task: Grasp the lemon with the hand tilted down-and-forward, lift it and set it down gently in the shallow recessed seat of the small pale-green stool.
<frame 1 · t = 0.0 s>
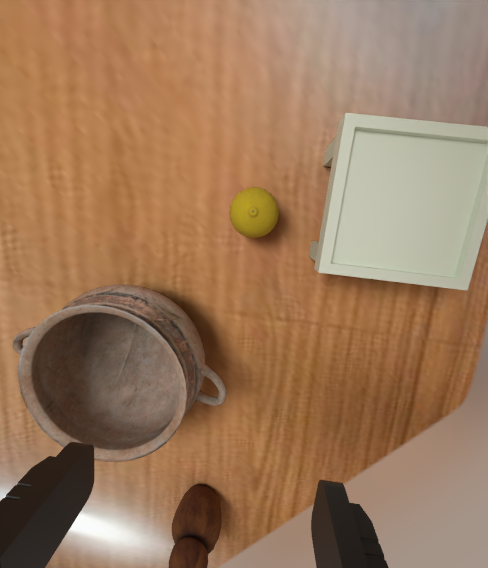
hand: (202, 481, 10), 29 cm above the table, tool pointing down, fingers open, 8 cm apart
stool: (370, 210, 36), on the table
lemon: (255, 214, 37), on the table
cooking pot: (148, 339, 41), on the table
wooden figurine: (203, 493, 46), on the table
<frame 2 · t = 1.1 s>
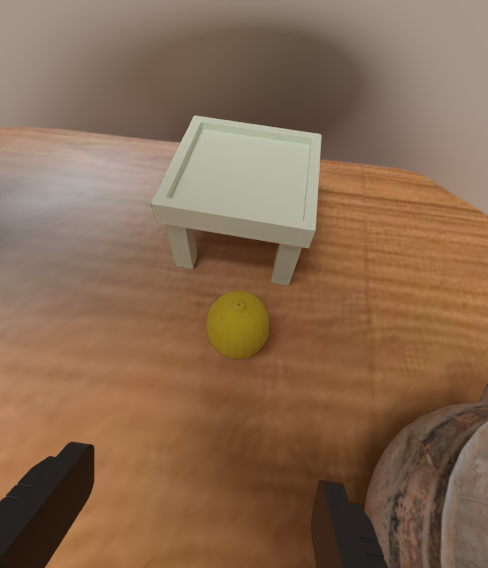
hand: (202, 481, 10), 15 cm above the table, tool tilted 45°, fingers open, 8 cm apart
stool: (241, 233, 36), on the table
lemon: (236, 342, 29), on the table
cooking pot: (457, 556, 21), on the table
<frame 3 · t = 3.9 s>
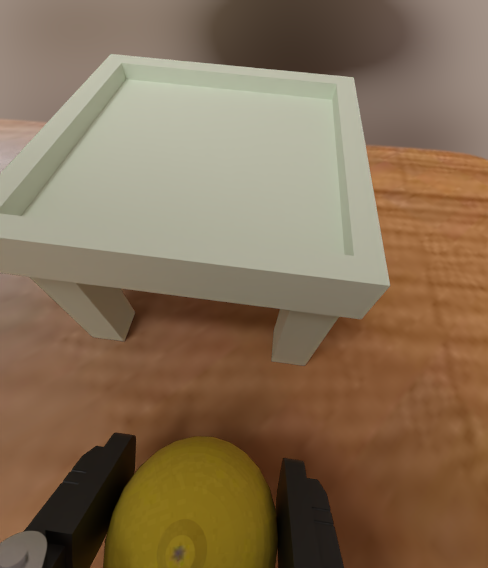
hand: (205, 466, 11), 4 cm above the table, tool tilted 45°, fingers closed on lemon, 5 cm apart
stool: (216, 265, 21), on the table
lemon: (205, 512, 14), on the table, touching gripper
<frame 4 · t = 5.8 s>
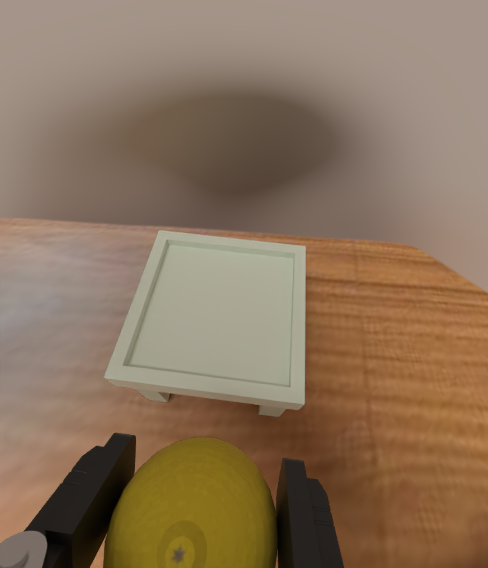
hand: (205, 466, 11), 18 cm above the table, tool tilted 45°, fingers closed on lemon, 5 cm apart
stool: (223, 345, 32), on the table
lemon: (205, 512, 14), point 13 cm above the table, touching gripper
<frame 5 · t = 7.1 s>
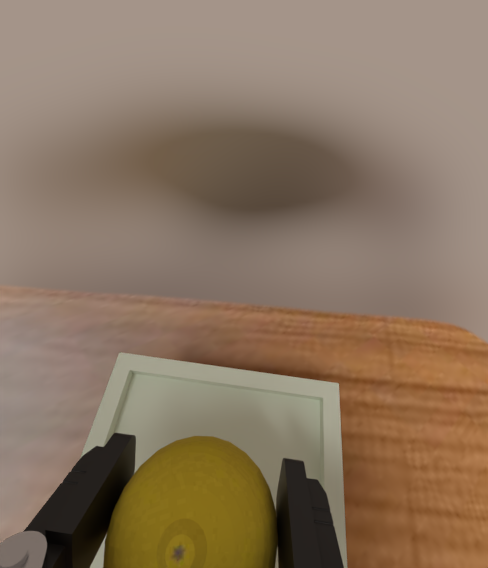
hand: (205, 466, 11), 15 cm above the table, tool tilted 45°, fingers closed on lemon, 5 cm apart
stool: (214, 491, 23), on the table
lemon: (205, 511, 14), point 11 cm above the table, touching gripper
when the fingers open (15 cm above the table, at t = 7.7 s): lemon drops 1 cm, resting on stool.
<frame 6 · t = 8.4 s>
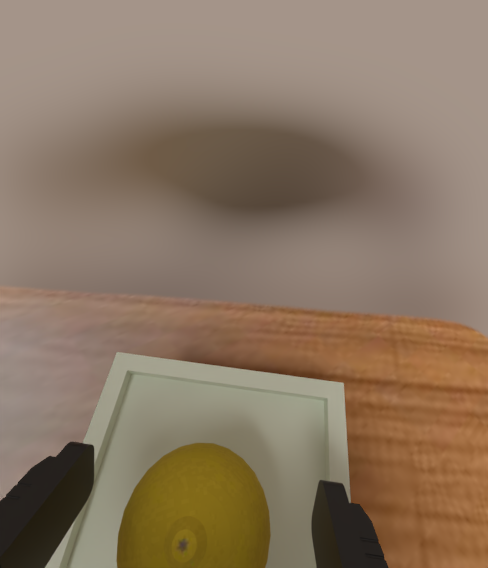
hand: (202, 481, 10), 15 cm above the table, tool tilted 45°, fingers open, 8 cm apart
stool: (215, 495, 22), on the table
lemon: (206, 512, 15), point 9 cm above the table, touching stool
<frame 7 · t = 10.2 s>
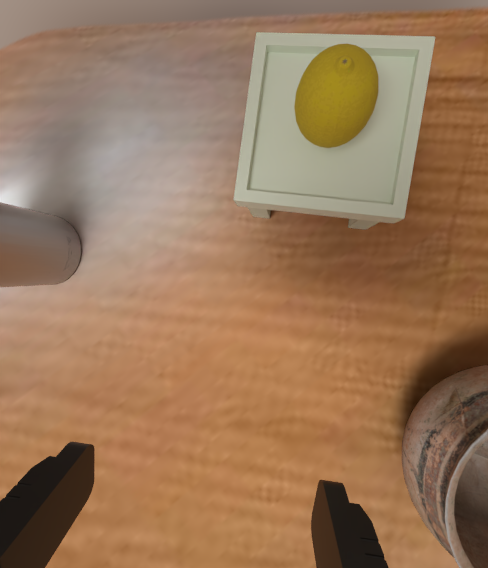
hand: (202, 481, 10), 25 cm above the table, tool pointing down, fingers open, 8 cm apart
stool: (316, 166, 33), on the table
lemon: (326, 130, 25), point 9 cm above the table, touching stool
cooking pot: (470, 429, 32), on the table
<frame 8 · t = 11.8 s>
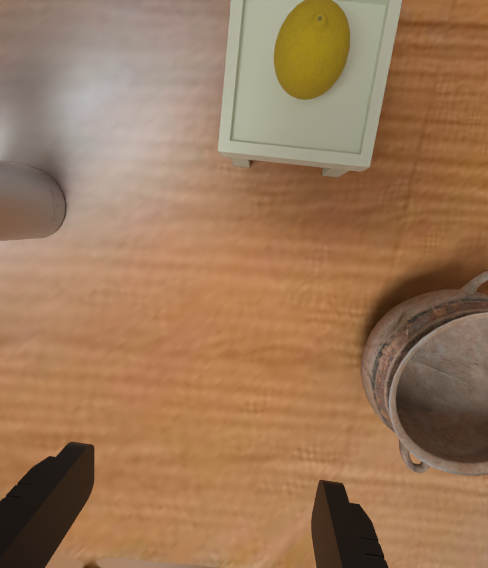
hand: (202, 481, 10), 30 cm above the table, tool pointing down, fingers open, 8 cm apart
stool: (293, 114, 35), on the table
lemon: (302, 80, 26), point 9 cm above the table, touching stool
cooking pot: (416, 345, 40), on the table
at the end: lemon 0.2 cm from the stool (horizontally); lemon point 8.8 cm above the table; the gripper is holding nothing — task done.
